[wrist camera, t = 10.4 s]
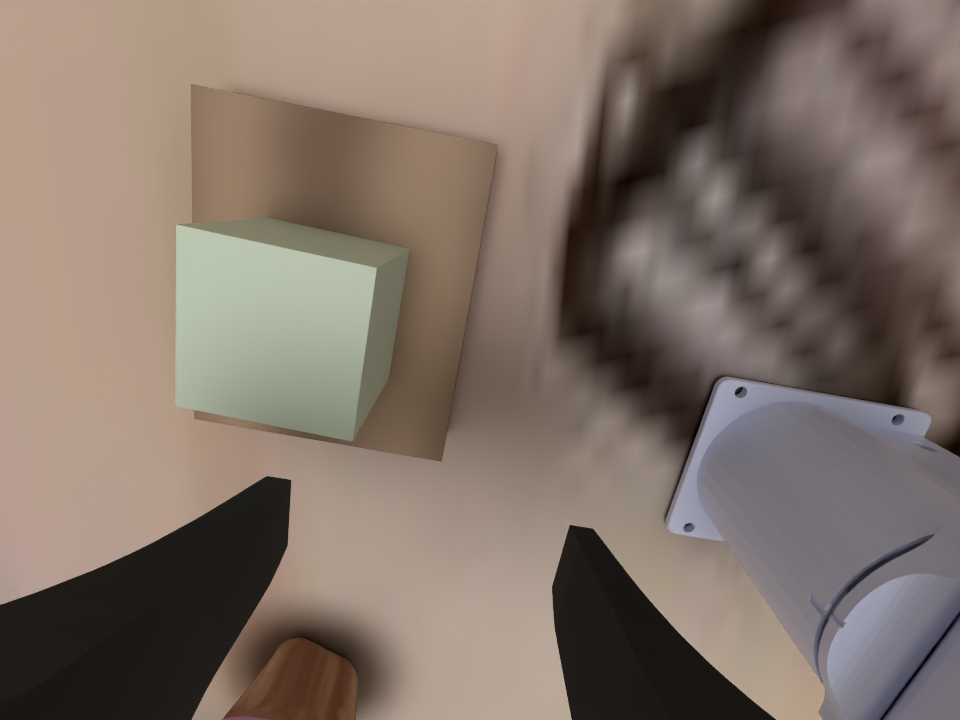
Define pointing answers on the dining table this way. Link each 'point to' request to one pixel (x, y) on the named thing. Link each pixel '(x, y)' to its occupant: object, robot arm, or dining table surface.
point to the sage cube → (285, 323)
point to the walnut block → (360, 231)
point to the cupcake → (300, 686)
